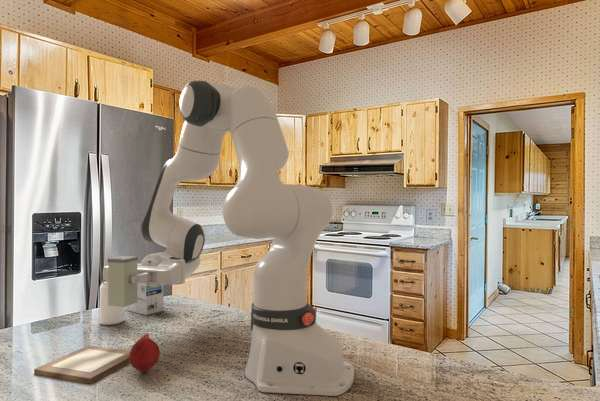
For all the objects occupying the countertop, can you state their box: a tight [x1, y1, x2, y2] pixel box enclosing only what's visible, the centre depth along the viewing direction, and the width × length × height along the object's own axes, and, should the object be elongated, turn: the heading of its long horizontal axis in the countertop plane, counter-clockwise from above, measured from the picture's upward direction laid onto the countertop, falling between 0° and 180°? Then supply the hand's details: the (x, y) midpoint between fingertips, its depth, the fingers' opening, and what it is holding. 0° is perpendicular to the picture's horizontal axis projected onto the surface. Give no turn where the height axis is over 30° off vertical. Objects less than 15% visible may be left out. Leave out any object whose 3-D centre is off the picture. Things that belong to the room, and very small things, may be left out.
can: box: [99, 279, 125, 326], centre depth 116 cm, size 6×6×12 cm
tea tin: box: [107, 255, 139, 308], centre depth 96 cm, size 5×5×11 cm
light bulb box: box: [125, 283, 164, 316], centre depth 129 cm, size 11×7×11 cm, turn 58°
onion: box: [129, 333, 161, 374], centre depth 83 cm, size 6×6×8 cm
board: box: [33, 344, 131, 384], centre depth 87 cm, size 14×14×1 cm
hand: (120, 279), depth 95 cm, fingers closed on tea tin, 4 cm apart
